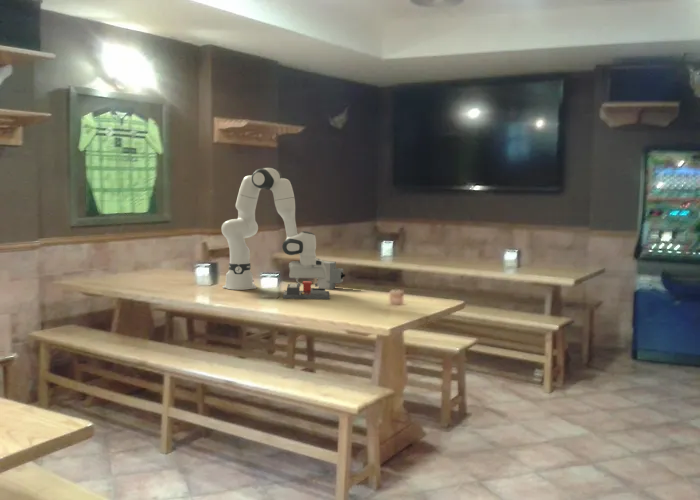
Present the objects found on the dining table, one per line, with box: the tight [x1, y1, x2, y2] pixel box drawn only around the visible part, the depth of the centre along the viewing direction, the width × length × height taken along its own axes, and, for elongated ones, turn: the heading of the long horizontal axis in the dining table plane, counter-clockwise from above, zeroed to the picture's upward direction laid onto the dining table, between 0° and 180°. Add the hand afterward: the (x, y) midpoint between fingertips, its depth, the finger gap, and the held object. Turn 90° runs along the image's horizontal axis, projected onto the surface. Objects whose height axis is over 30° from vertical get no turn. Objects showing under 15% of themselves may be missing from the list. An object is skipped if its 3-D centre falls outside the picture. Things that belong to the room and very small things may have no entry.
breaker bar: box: [289, 283, 298, 288], centre depth 361 cm, size 11×4×3 cm, turn 3°
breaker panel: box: [282, 283, 330, 300], centre depth 361 cm, size 14×24×6 cm, turn 93°
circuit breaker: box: [318, 260, 346, 290], centre depth 391 cm, size 8×14×15 cm, turn 78°
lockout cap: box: [302, 280, 313, 291], centre depth 374 cm, size 5×5×6 cm
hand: (307, 286), depth 374 cm, fingers open, 8 cm apart
